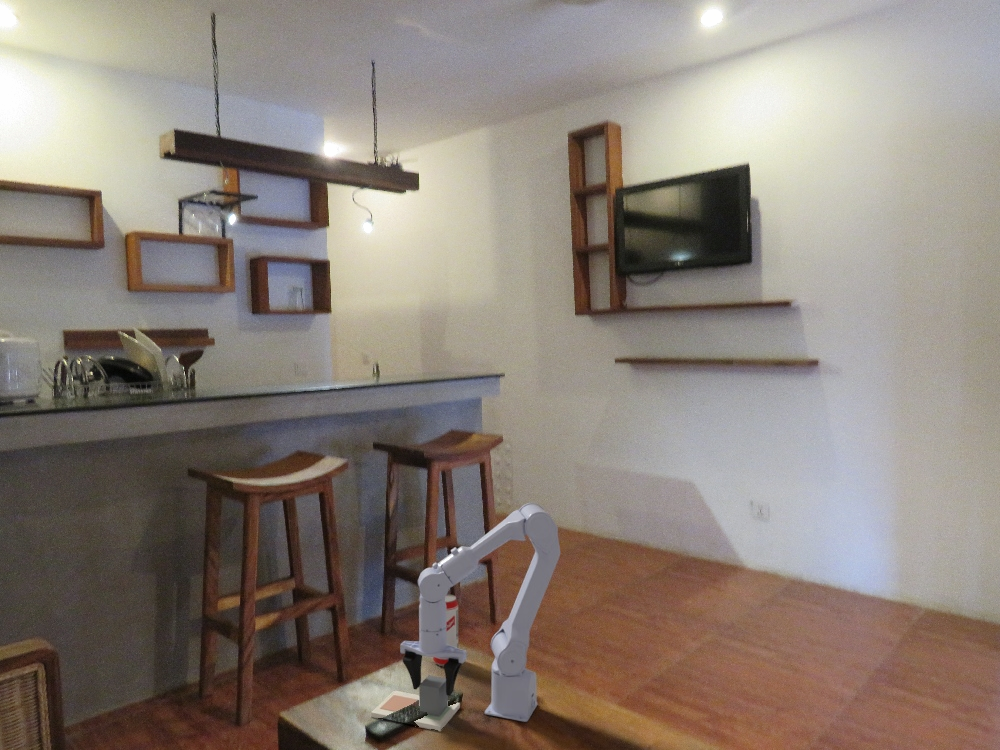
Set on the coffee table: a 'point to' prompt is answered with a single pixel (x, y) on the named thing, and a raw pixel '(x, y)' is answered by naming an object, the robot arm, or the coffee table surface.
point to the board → (403, 699)
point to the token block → (433, 695)
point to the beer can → (450, 625)
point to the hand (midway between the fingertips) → (433, 690)
